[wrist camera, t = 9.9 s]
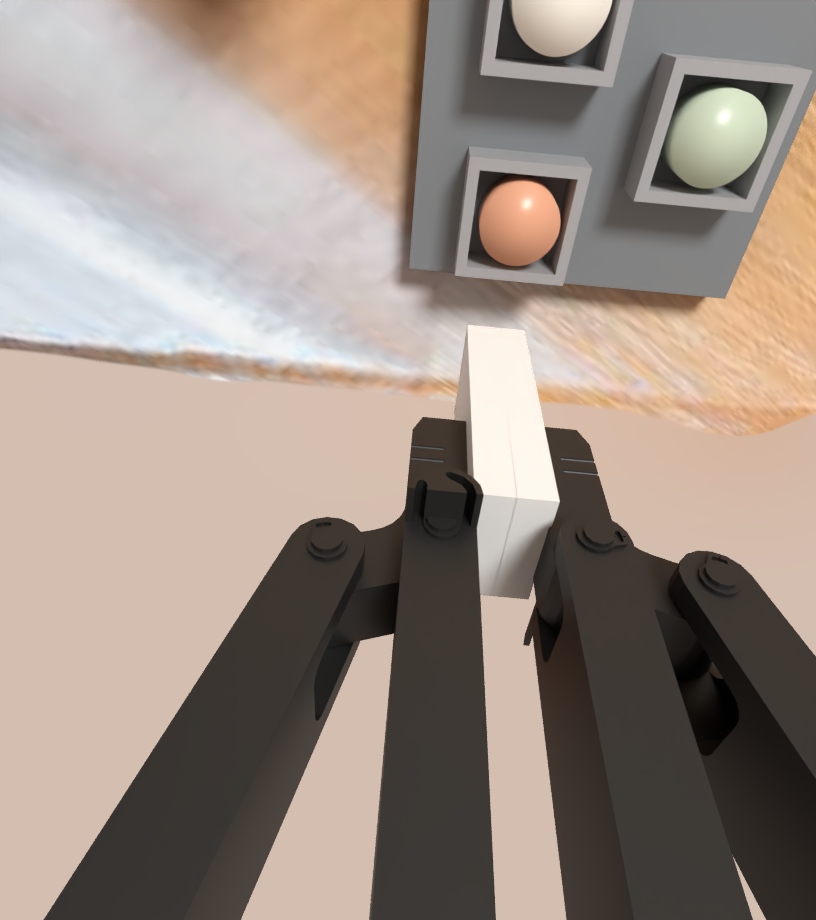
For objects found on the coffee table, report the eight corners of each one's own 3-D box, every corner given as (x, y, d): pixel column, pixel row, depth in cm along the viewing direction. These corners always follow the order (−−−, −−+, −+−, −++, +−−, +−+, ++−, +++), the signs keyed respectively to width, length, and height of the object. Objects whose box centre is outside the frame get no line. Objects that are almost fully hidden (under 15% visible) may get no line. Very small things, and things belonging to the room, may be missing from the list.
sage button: (648, 172, 33) (659, 184, 31) (676, 79, 30) (691, 85, 28) (727, 180, 33) (743, 192, 31) (763, 87, 30) (783, 94, 28)
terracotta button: (473, 247, 36) (474, 262, 34) (484, 169, 33) (486, 180, 31) (545, 254, 36) (550, 269, 34) (562, 176, 33) (569, 188, 31)
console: (410, 257, 39) (406, 284, 35) (440, -127, 28) (438, -142, 24) (713, 285, 39) (739, 315, 35) (868, -86, 28) (928, -95, 24)
